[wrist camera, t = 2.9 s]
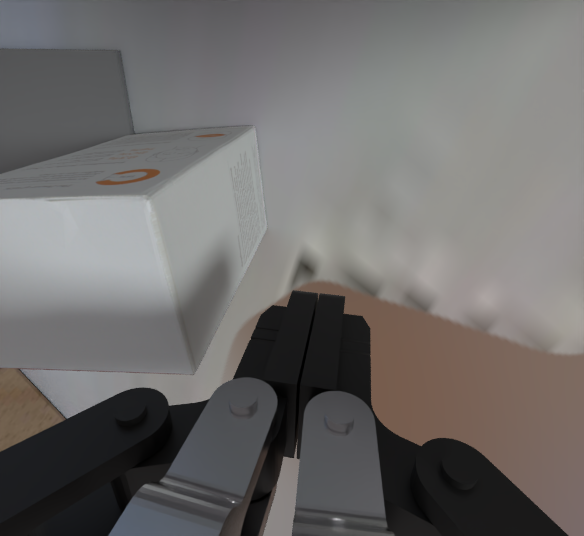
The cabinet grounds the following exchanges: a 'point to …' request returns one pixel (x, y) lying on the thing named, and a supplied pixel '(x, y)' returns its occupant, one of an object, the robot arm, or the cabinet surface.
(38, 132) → the mat
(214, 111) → the cabinet surface
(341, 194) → the cabinet surface
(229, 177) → the small box
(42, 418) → the wooden block
